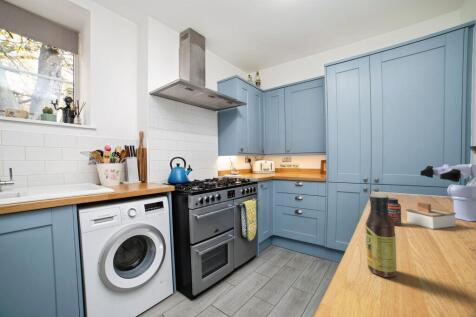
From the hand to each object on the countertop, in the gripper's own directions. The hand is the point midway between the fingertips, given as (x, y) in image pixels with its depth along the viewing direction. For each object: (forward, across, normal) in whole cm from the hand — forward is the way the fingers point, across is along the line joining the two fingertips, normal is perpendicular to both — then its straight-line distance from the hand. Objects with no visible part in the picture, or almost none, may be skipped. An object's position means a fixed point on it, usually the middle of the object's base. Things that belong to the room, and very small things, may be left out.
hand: (430, 174), depth 89 cm
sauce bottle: (+58, +29, +15) cm, 67 cm away
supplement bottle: (+19, 0, +21) cm, 28 cm away
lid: (+5, +4, +15) cm, 17 cm away
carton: (+5, +5, +21) cm, 22 cm away
